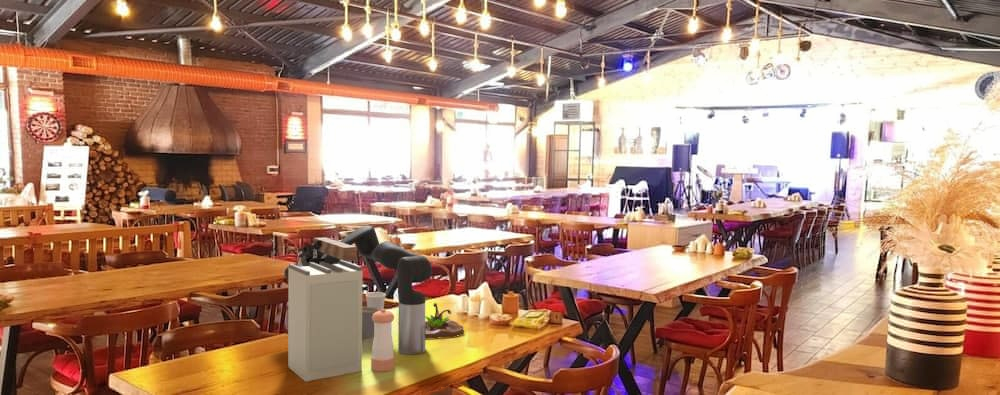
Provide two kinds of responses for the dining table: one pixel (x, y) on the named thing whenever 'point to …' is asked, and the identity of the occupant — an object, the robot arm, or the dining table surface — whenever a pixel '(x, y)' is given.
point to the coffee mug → (368, 322)
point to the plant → (442, 326)
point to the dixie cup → (375, 300)
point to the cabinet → (324, 319)
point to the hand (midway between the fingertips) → (326, 241)
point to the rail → (337, 249)
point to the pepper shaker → (382, 341)
